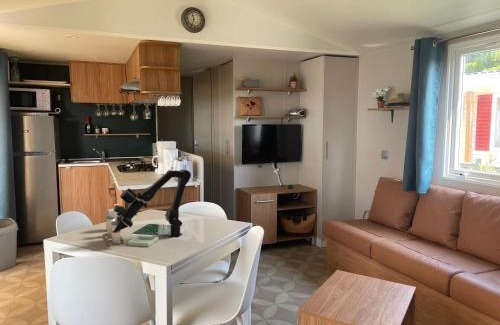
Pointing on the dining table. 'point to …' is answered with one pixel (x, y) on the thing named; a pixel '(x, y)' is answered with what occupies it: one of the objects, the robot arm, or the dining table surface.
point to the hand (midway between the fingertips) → (113, 230)
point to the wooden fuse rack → (111, 240)
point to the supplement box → (111, 212)
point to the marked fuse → (115, 233)
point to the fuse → (109, 226)
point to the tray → (143, 241)
